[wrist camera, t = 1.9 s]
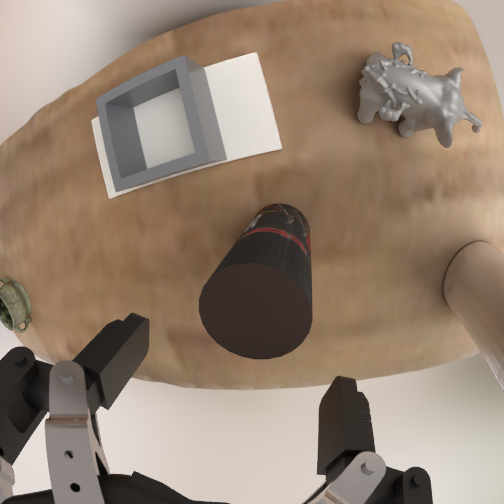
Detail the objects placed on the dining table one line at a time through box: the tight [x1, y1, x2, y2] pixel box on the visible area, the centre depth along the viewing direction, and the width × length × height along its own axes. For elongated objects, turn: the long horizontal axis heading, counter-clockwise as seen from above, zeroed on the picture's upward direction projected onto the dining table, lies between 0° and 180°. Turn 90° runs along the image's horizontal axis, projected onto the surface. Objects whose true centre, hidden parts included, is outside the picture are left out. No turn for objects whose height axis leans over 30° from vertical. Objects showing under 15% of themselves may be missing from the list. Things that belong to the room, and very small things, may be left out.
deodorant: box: [199, 204, 312, 359], centre depth 21 cm, size 6×6×15 cm
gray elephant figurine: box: [357, 42, 482, 148], centre depth 17 cm, size 9×12×8 cm
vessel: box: [0, 277, 31, 333], centre depth 39 cm, size 12×9×6 cm
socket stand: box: [91, 52, 283, 199], centre depth 23 cm, size 20×10×6 cm, turn 104°
